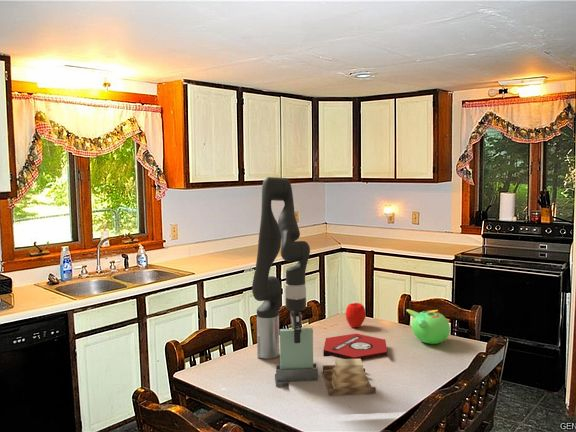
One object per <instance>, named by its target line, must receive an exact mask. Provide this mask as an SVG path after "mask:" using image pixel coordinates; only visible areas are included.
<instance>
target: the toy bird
mask: <svg viewBox="0 0 576 432" xmlns="http://www.w3.org/2000/svg"><path fill="white" fill-rule="evenodd" d="M405 311H406V312H407V313H408V314H409V315H410V316H411V317H413V319H412V321H411V330H412V332H413V335H414V336H415V337H416V338H417V339H418V340H419V341H420V342H422V343H426V344H429V345H435V344H440V343H443V342H444V341H446V340H447V339H448V337H449V336H450V334H451V333H450V332H451V325H450V323H449V321H448V319H447V317H445V315H443V314H442V313H440V312H438V311H439V309H433V310H423V311H421V312H417V311H415V310H412V309H409V308H408V309H406V310H405Z"/></svg>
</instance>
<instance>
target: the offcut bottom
mask: <svg viewBox="0 0 576 432" xmlns="http://www.w3.org/2000/svg"><path fill="white" fill-rule="evenodd" d="M332 385H333V387H334V389H337V388H359V387H367V382H366V381H365V382H353V383H340V384H338V383H337V382H336V380H335V379H334V377H333V375H332Z"/></svg>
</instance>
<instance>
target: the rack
mask: <svg viewBox="0 0 576 432" xmlns="http://www.w3.org/2000/svg"><path fill="white" fill-rule="evenodd" d="M333 368H335V364H325V365H324V364H323V365H322V371H321V373H320V374H321V376H322V379H323V382H324V384H325V385H324V386H325V388H326V390H327V394H328V396H329V397H334V396H335V397H336V396H337V397H338V396H355V395H375V394H377V391H376V389H377V387H376V386H372V384H371V382H370V380H369V379H368V377H367V376H366V382H367V387H359V388H337V389H334V387H333V385H332V375H333ZM363 370H364V372H365V373H366V368H364V367H363Z"/></svg>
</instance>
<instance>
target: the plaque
mask: <svg viewBox="0 0 576 432" xmlns="http://www.w3.org/2000/svg"><path fill="white" fill-rule="evenodd" d="M324 341H325V342H324V344H323V345H324V346H323V351H322V352H323V355H322V356H323V357H335V358H337V359H361V361H363V360H369V359H376V358H381V357H388V348H387V341H386V339H385V338H384V339H383V338H379V337H375V336H369V335H365V334H361V333H350V334H345V335H344V334H343V335H337V336H329V337H325V340H324Z"/></svg>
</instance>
